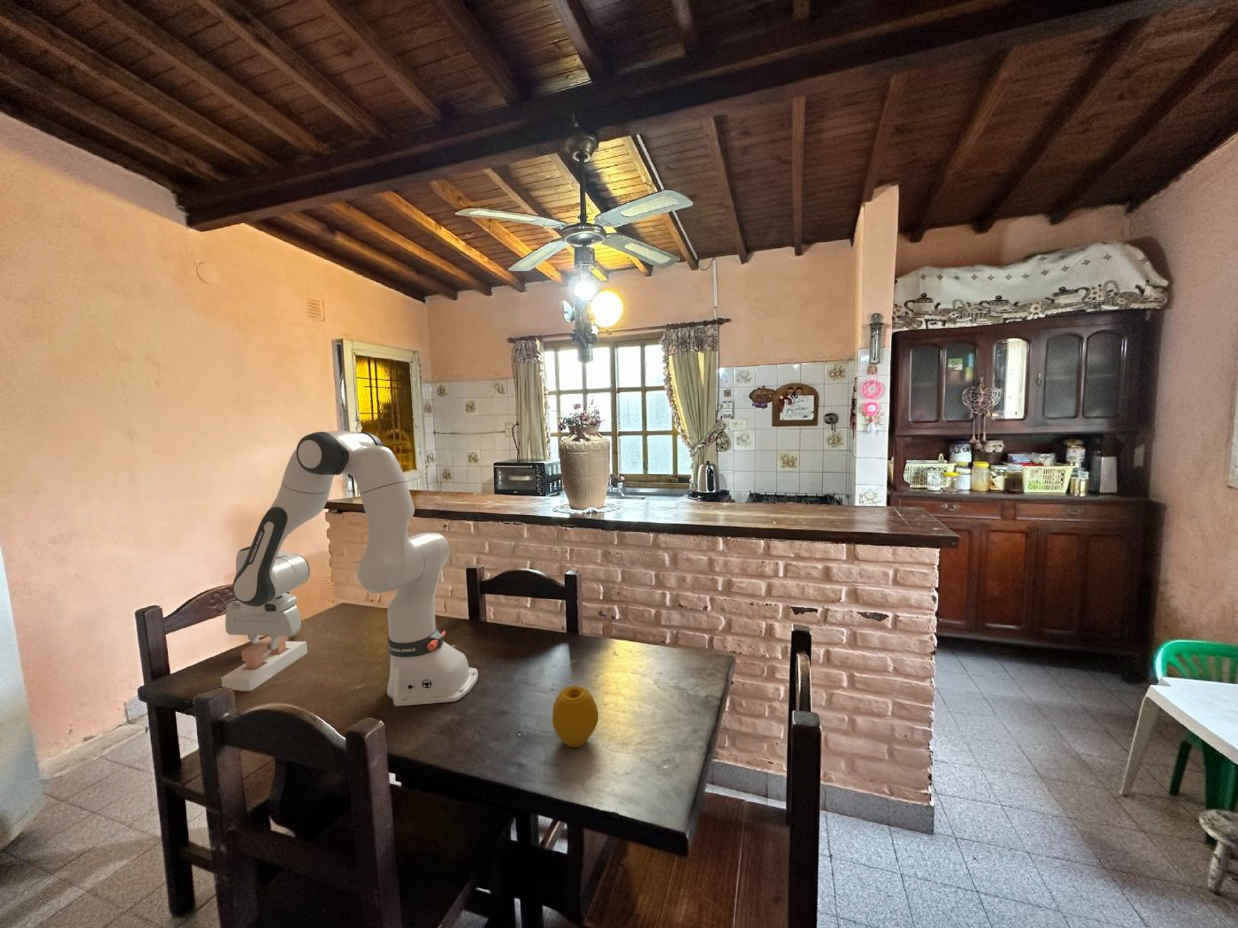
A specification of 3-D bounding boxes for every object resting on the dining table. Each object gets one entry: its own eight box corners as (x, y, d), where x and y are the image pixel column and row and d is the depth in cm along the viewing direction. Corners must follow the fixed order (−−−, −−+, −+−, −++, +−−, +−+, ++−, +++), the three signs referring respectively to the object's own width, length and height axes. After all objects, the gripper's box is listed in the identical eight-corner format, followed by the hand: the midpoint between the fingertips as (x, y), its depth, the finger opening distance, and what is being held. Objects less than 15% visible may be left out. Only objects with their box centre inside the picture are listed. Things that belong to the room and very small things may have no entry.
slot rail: (307, 652, 144) (306, 641, 144) (250, 690, 125) (249, 678, 124) (283, 652, 145) (281, 641, 145) (222, 690, 125) (221, 677, 125)
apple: (608, 739, 102) (606, 687, 101) (575, 764, 95) (572, 709, 94) (577, 720, 109) (575, 671, 107) (543, 743, 101) (541, 691, 100)
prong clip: (289, 654, 141) (286, 630, 140) (254, 676, 129) (251, 651, 128) (280, 654, 141) (277, 630, 140) (244, 676, 129) (241, 651, 128)
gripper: (215, 605, 131) (221, 653, 132) (284, 606, 129) (290, 654, 130) (236, 596, 137) (241, 642, 138) (302, 597, 135) (307, 643, 136)
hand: (265, 648), depth 134 cm, fingers closed on prong clip, 3 cm apart
